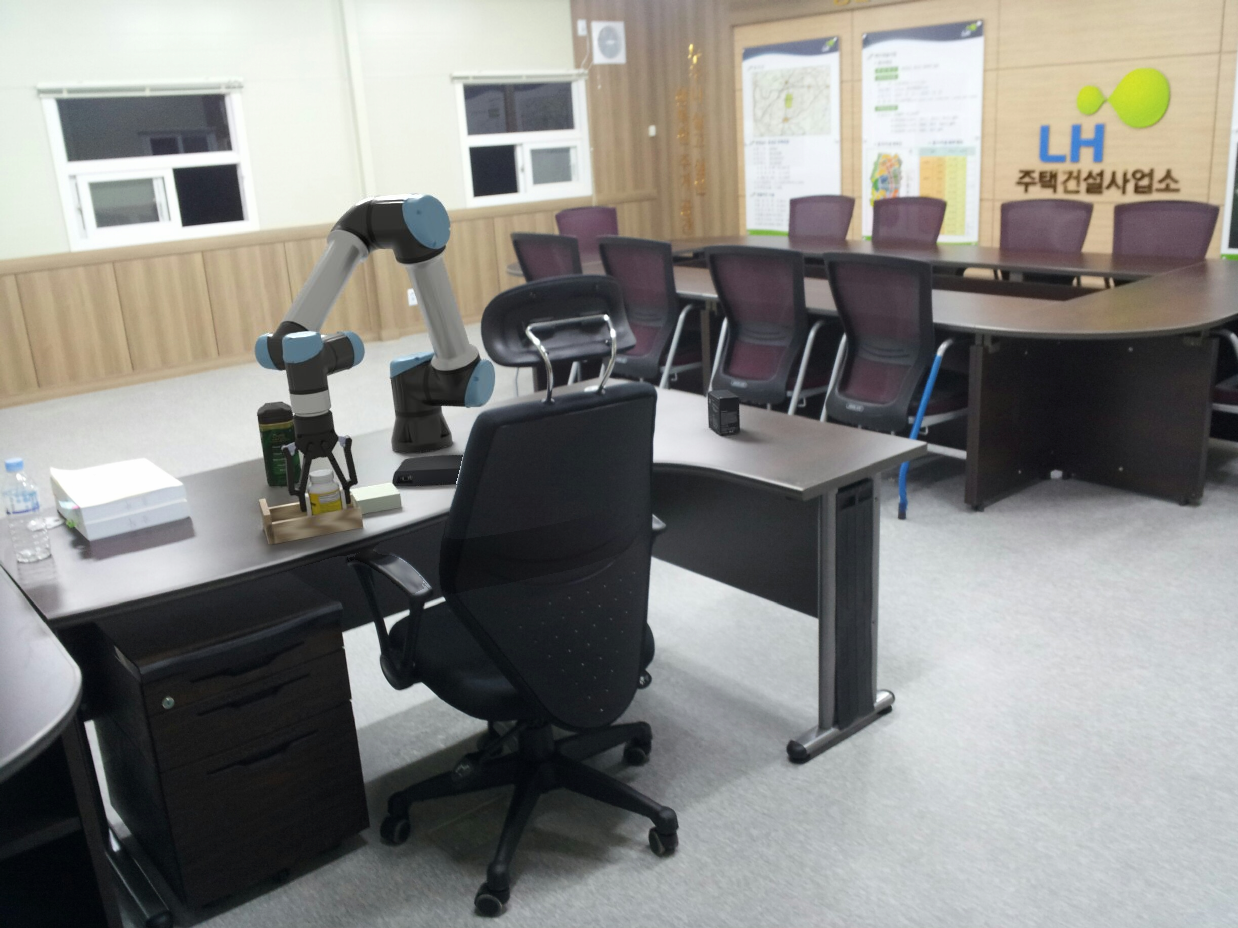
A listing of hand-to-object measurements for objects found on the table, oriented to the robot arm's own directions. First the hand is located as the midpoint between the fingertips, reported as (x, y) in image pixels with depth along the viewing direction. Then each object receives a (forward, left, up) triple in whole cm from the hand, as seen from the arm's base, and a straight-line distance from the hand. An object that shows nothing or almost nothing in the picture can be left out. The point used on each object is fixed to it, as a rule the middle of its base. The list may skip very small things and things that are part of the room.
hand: (328, 522), depth 218 cm
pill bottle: (0, 0, -1) cm, 1 cm away
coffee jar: (+5, -36, -1) cm, 37 cm away
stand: (-11, -7, 0) cm, 13 cm away
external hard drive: (-28, -20, -1) cm, 34 cm away
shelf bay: (+3, 0, 0) cm, 3 cm away
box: (-99, -17, -1) cm, 101 cm away
